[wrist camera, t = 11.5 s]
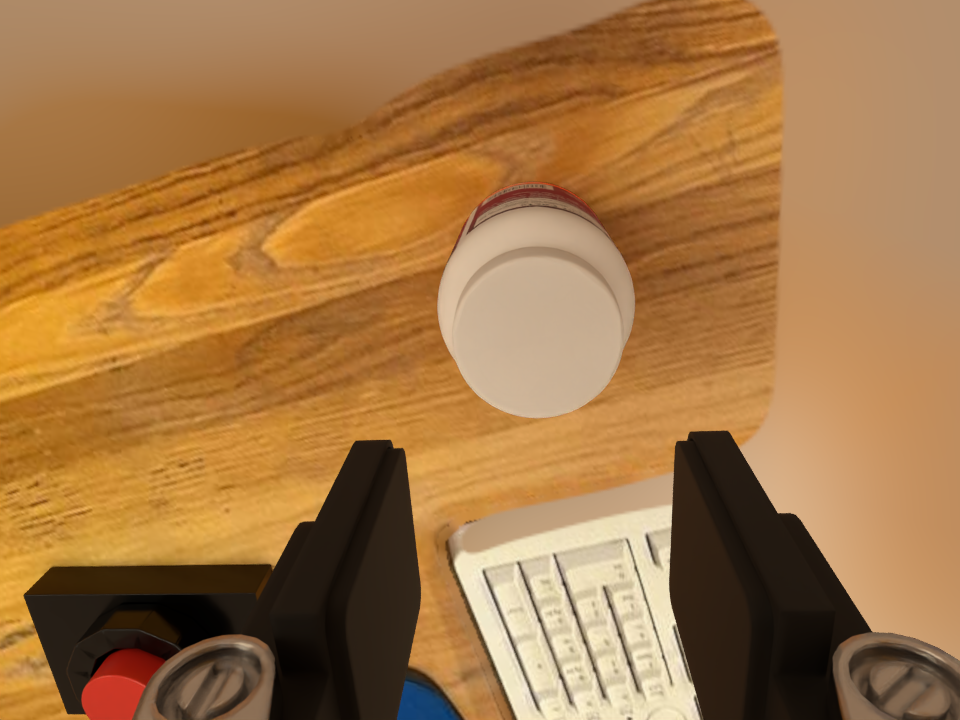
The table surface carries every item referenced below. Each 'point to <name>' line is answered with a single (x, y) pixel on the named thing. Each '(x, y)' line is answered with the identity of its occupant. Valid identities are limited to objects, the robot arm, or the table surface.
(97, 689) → the button
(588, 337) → the pill bottle
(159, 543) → the table surface
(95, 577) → the button box
